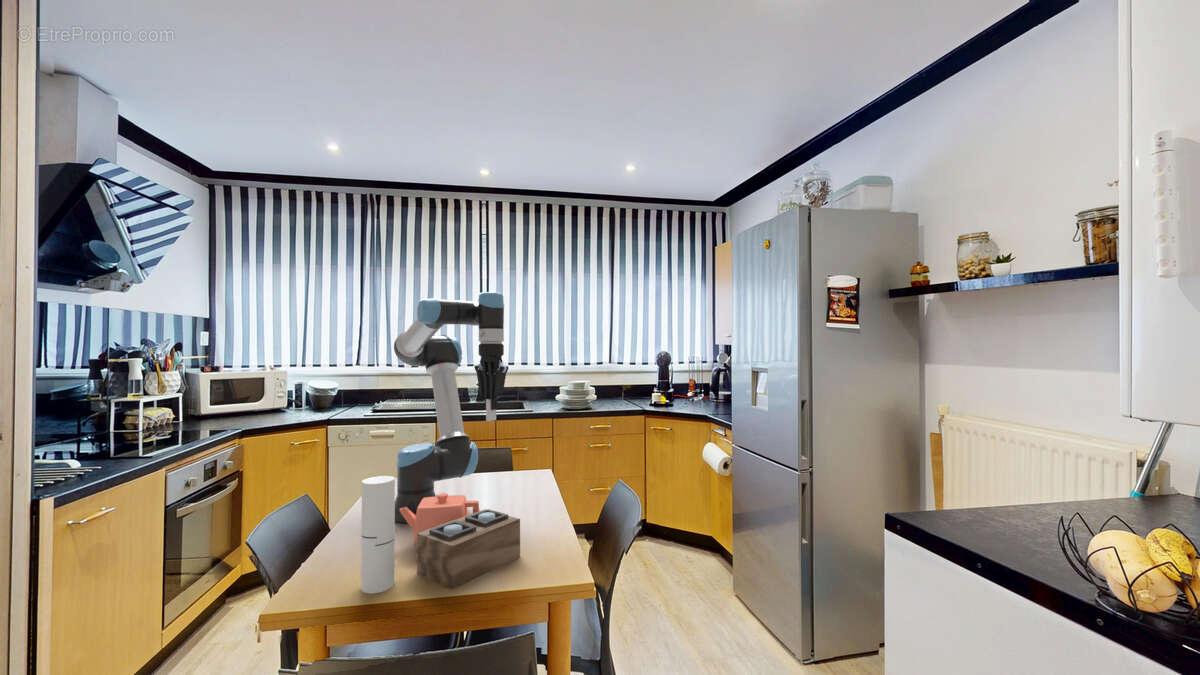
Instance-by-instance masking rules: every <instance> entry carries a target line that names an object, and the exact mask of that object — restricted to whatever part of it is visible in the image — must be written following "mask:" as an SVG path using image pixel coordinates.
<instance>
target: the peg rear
mask: <svg viewBox="0 0 1200 675" xmlns="http://www.w3.org/2000/svg"><path fill="white" fill-rule="evenodd" d="M494 518H495V513H492V512H486V513H481V514H479V515H478V519H479V520H483V521H488V520H491V519H494Z"/></svg>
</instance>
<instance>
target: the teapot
mask: <svg viewBox="0 0 1200 675" xmlns="http://www.w3.org/2000/svg"><path fill="white" fill-rule="evenodd" d="M435 495H436V497H426V498H423V499H422V501H421V502H420V504H419V506H418V508H417V513H416V515H415V514H414V513H412V512H411V511H410V510H409V509H408V508H407V507H404V508H400V512H401V514H402V515H403V517H404V518H405V520H406V521H407V523H406V524H407V525H409V527H410V528H411V530H412V531H413V540H414V546H415V547H416V548H417V533H419V532H422V531H425V530H428V529H430V528H433V527H436V526H439V525H442V524H445V523H448V522H450V521H453V520H456V519H459V518H462V517H465V516H467V515H469V510H468V508H472V514H473V513H476V512H479V511H480V503H479V502H480V501H479V500H467V497H466V495H464V494H462V495H461V494H459V495H458V494H457V495H449V494H448V493H446V492H444V493H443V492H442V493H438V494H435Z"/></svg>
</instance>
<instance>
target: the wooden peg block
mask: <svg viewBox="0 0 1200 675" xmlns="http://www.w3.org/2000/svg"><path fill="white" fill-rule="evenodd" d="M486 512H492V513H495V518H494V519H491V520H488V521H483V520H479V519H478V515H479V514H481V513H486ZM452 524H459V525H462V531H459V532H457V533H454V534H451V535H450V534H447V533H444V527H446V526H448V525H452ZM520 557H521V518H518V517H515V516H510V515H509V514H508V513H504V512H499V511H496V510H494V509H493V510H492V509H489V508H487V509H486V508H485V509H482V510H479V512H476V513H473V512H472V513H470V514H468V515H467V516H465V517H462V518H459V519H456V520H453V521H450V522H448V523H445V524H442V525H439V526H436V527H433V528H430V529H428V530H425V531H422V532H419V533H417V547H416V574H417V575H419V576H421V577H424V578H426V579H428V580H431V581H432V582H435V583H437V584H439V585H442V586H443V587H446V588H448V589H451V590H454V589H456V588H459V587H462V585H465V584H467V583H469V582H471V581H473V580H476V579H477V578H479V577H481V576H483V575H485V574H487V573H489V572H491V571H493V570H495V569H497V568H500V567H502V566H504V565H505V564H508V563H509V562H512V561H513V560H516V559H518V558H520Z"/></svg>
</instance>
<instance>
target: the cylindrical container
mask: <svg viewBox="0 0 1200 675" xmlns="http://www.w3.org/2000/svg"><path fill="white" fill-rule="evenodd" d="M395 479H396V478H395V476H391V475H378V476H372V477H368V478H365V479H362V480H361V556H360V558H361V562H360V563H361V567H360V568H361V573H360V574H361V582H360V584H361V586H360V587H361V588H360V590H361V592H362V593H364V594H371V595H372V594H378V593H379V594H380V593H382V592H385V591H388V590H390V589H391V588H392V587H394V585H395V567H396V566H395V543H396V542H395V540H396V539H395V536H396V535H395V534H396V533H395V532H396V530H395V525H396V524H395V523H396V522H395V500H396V490H395V489H396V488H395V487H396V480H395Z"/></svg>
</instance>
